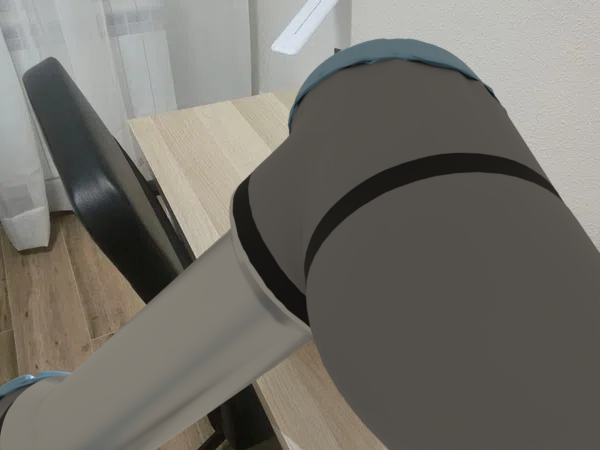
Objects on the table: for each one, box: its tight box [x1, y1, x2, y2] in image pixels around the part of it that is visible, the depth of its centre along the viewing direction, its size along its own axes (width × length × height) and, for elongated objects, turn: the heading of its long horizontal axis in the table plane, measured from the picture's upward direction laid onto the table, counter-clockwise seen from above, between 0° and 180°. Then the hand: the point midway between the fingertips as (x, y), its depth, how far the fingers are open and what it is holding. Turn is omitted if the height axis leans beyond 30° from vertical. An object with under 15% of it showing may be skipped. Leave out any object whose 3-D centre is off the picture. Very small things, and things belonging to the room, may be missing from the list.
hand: (439, 261), depth 65 cm, fingers open, 13 cm apart
